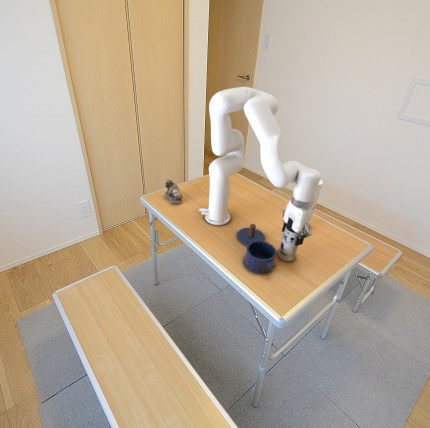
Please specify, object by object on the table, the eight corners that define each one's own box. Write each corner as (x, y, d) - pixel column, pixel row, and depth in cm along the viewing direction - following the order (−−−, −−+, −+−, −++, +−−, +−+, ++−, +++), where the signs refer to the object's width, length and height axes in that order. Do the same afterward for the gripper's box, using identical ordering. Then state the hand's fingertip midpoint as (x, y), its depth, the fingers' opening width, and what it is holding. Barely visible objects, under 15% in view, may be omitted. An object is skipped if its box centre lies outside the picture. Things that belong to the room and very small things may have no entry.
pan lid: (245, 249, 120) (247, 236, 116) (232, 232, 130) (234, 219, 126) (270, 243, 124) (272, 231, 120) (256, 227, 134) (258, 215, 130)
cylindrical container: (308, 231, 133) (323, 185, 119) (293, 229, 134) (306, 183, 120) (307, 223, 139) (321, 178, 125) (292, 220, 140) (305, 176, 126)
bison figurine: (185, 203, 148) (185, 186, 142) (173, 207, 144) (173, 190, 139) (173, 193, 156) (172, 177, 150) (162, 197, 152) (161, 180, 146)
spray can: (276, 250, 120) (286, 212, 109) (291, 250, 121) (302, 212, 110) (280, 261, 115) (291, 222, 104) (296, 261, 116) (309, 222, 104)
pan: (256, 281, 105) (259, 268, 101) (236, 252, 118) (238, 239, 114) (282, 274, 109) (286, 261, 105) (260, 246, 122) (263, 234, 118)
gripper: (280, 191, 108) (272, 227, 118) (308, 215, 95) (297, 253, 104) (296, 188, 110) (287, 223, 120) (326, 212, 97) (313, 249, 107)
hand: (291, 237), depth 112 cm, fingers open, 8 cm apart
